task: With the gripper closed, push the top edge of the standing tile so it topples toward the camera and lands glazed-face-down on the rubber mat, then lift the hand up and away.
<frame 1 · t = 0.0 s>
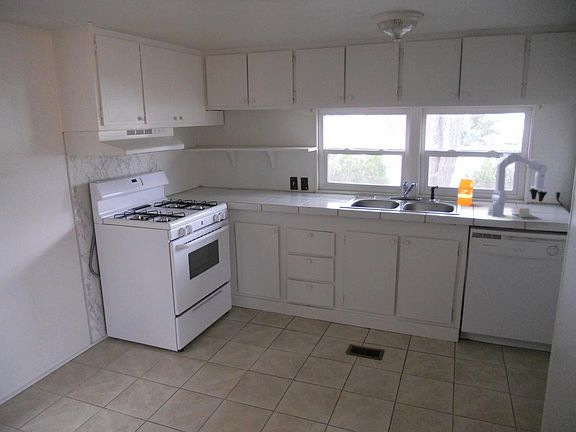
hand: (537, 200, 308), 10 cm above the countertop, fingers open, 7 cm apart
mat: (526, 217, 302), on the countertop
orange juice: (464, 204, 347), on the countertop
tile: (524, 217, 301), resting on mat
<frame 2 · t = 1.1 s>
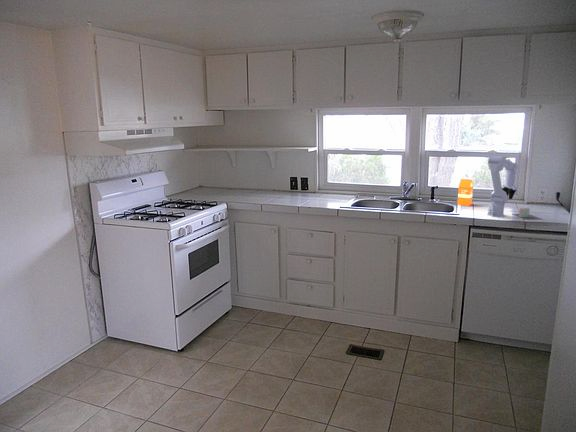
hand: (508, 198, 315), 10 cm above the countertop, fingers open, 5 cm apart
nothing on the countertop moved.
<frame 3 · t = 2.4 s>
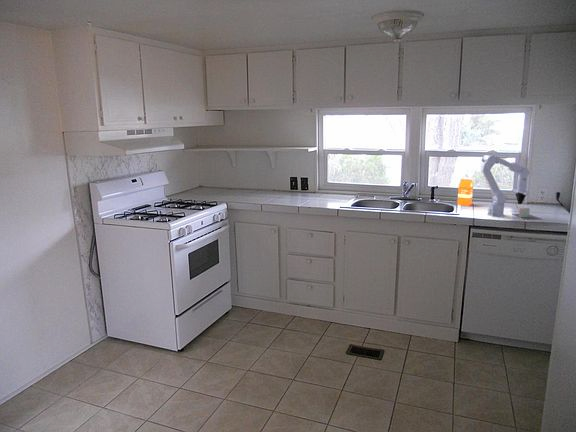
hand: (519, 203, 306), 8 cm above the countertop, fingers closed
nothing on the countertop moved.
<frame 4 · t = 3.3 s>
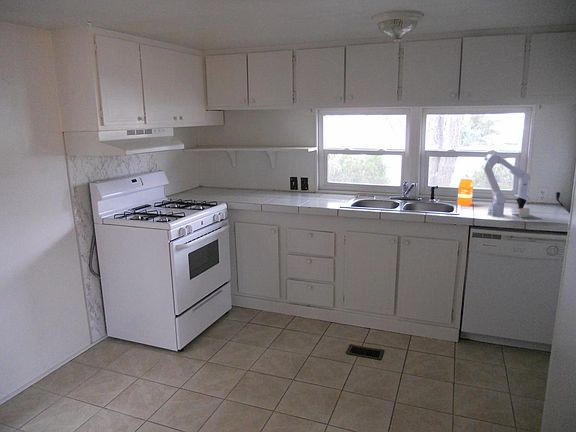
hand: (520, 209, 305), 5 cm above the countertop, fingers closed
nothing on the countertop moved.
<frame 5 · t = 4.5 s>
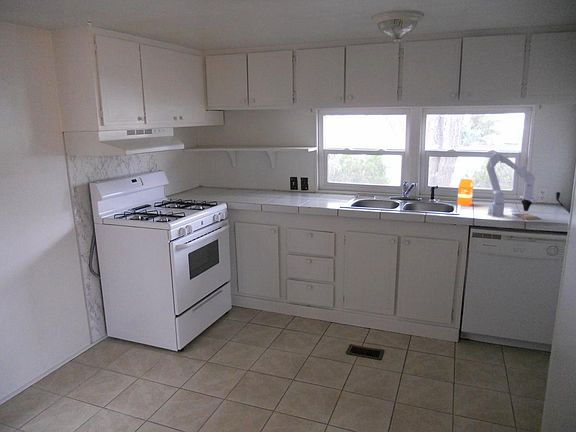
hand: (525, 210, 299), 5 cm above the countertop, fingers closed
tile: (524, 215, 300), point 1 cm above the countertop, tilted 90°, touching mat
everything else where it was.
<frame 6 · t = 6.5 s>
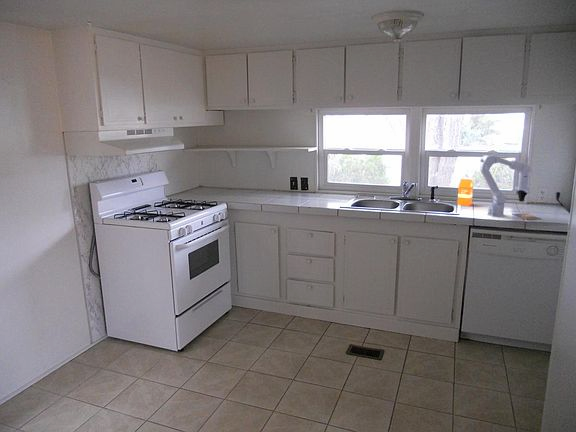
hand: (521, 201, 304), 10 cm above the countertop, fingers closed
nothing on the countertop moved.
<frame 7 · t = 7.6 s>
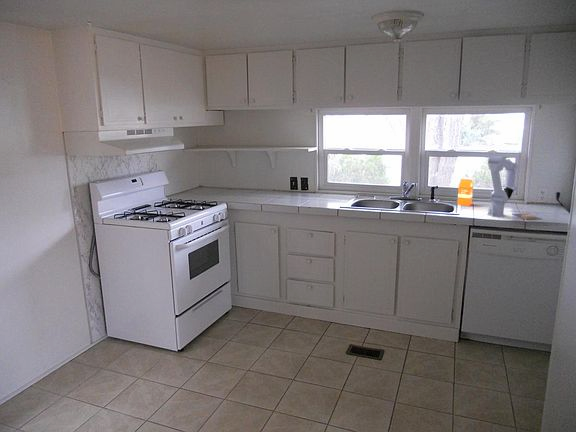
hand: (508, 198, 315), 10 cm above the countertop, fingers closed
nothing on the countertop moved.
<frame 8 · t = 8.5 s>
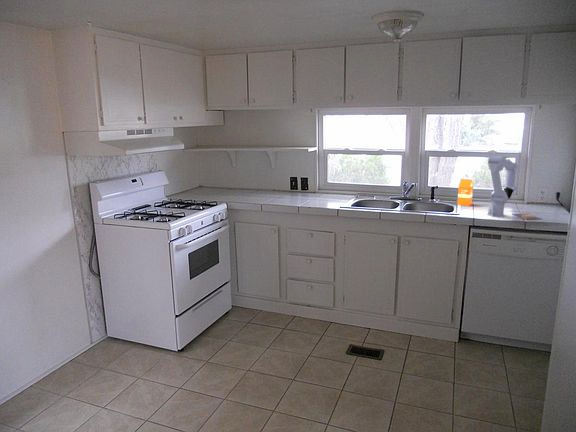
hand: (508, 198, 315), 10 cm above the countertop, fingers closed
nothing on the countertop moved.
at the end: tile tilted 90°; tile inside the target area (3.0 cm from its centre), point 1.4 cm above the countertop; the gripper is holding nothing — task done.
